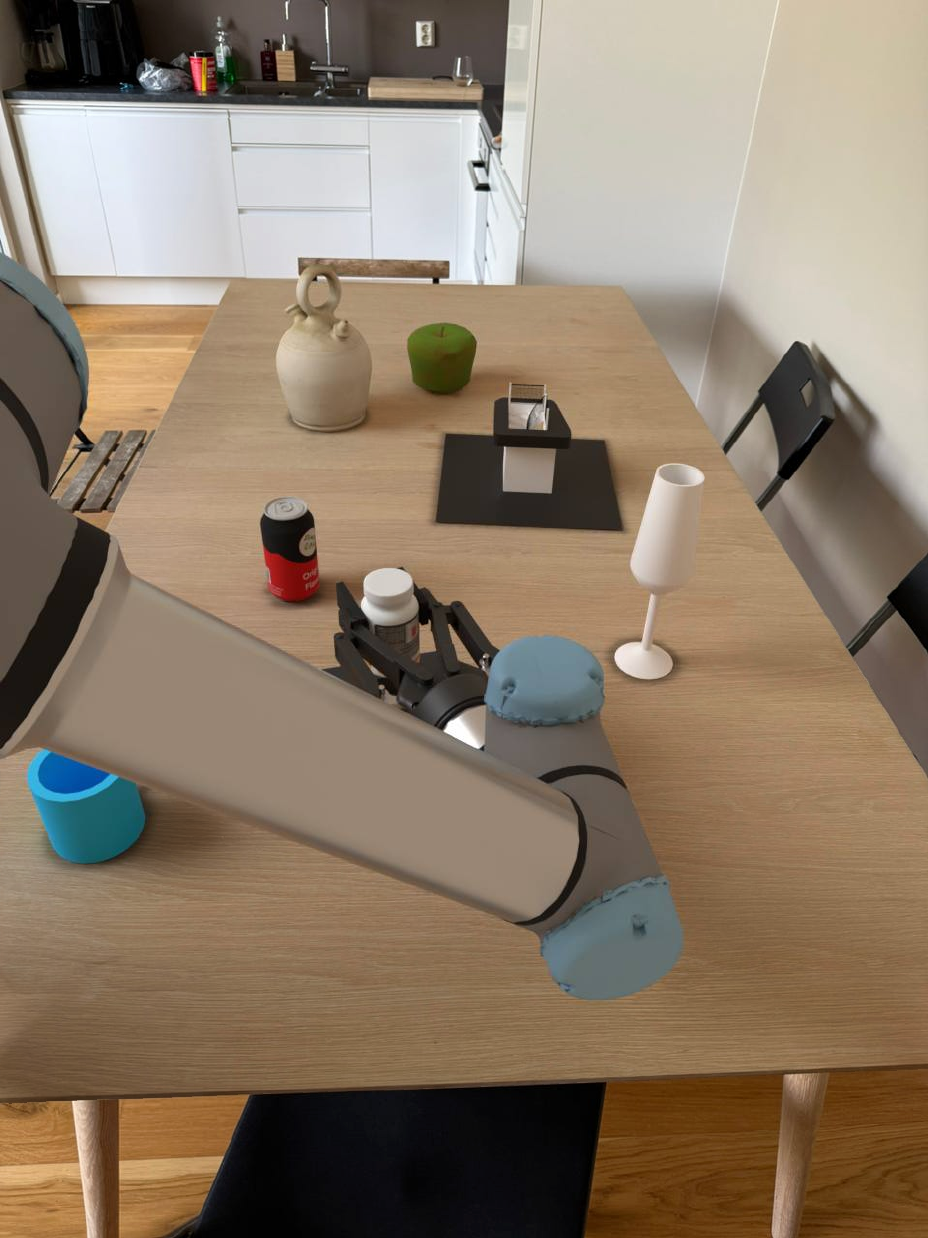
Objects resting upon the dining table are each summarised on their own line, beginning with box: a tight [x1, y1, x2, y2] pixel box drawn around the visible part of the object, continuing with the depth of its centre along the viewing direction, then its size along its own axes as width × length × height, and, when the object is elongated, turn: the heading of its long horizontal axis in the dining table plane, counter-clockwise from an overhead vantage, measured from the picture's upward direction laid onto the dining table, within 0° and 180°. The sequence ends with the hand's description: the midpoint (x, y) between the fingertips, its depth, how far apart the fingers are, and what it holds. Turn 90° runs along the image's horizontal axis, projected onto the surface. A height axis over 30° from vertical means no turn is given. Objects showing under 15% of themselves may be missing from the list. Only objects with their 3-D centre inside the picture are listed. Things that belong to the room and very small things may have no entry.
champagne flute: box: [614, 463, 705, 680], centre depth 95 cm, size 7×7×24 cm
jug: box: [275, 263, 373, 433], centre depth 143 cm, size 15×16×25 cm
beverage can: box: [259, 496, 321, 603], centre depth 108 cm, size 6×6×12 cm
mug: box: [26, 749, 146, 865], centre depth 80 cm, size 12×8×8 cm
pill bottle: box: [359, 567, 421, 678], centre depth 86 cm, size 6×6×10 cm
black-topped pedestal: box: [435, 382, 623, 531], centre depth 132 cm, size 28×26×13 cm
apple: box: [406, 322, 478, 396], centre depth 159 cm, size 12×12×11 cm
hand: (370, 586), depth 89 cm, fingers closed on pill bottle, 6 cm apart
